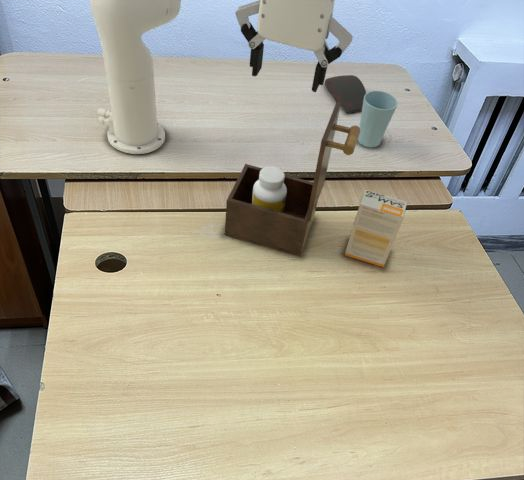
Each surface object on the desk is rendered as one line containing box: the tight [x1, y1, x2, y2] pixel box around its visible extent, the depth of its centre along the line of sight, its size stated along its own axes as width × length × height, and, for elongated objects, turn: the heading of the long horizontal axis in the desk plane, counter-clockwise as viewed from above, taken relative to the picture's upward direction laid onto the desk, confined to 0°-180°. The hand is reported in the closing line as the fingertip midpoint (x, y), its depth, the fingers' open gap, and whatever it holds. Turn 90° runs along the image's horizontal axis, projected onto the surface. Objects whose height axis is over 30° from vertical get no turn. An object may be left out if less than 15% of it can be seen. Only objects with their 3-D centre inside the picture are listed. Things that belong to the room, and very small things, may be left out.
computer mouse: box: [324, 74, 367, 114], centre depth 137 cm, size 8×14×4 cm, turn 23°
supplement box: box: [344, 189, 408, 268], centre depth 101 cm, size 8×5×13 cm, turn 71°
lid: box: [306, 101, 360, 221], centre depth 93 cm, size 16×12×5 cm
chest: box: [224, 163, 319, 257], centre depth 105 cm, size 16×12×9 cm
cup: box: [357, 90, 399, 148], centre depth 124 cm, size 8×8×10 cm
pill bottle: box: [252, 165, 287, 213], centre depth 103 cm, size 6×6×12 cm
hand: (286, 79), depth 83 cm, fingers open, 9 cm apart
